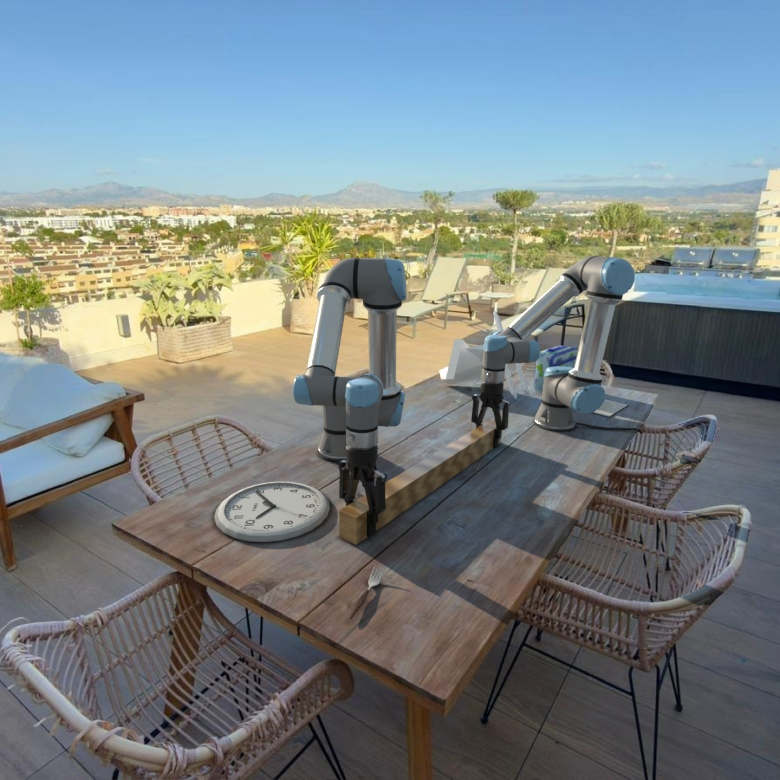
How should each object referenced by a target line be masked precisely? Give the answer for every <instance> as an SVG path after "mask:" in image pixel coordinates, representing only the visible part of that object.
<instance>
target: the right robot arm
mask: <svg viewBox="0 0 780 780" xmlns="http://www.w3.org/2000/svg"><path fill="white" fill-rule="evenodd" d="M635 273H636V272H635V270H634V267H633V266H632V263H630V262H629V261H627V260H626V259H624V258H621V257H617V256H600V255H591V256H587V257H585V258H583V259H580V260H579V261H578V262H576V263H574V264H573V265H571V266H570V267H569V268H567V270H565V271H564V272H563V273H562V274H561V275H560V276H559V277H558V281H557V282H556V283H555V284H554V285H553V286H552V287H551V288H550V289H548V290H547V291H546V292H545V293H544V294H542V296H540V297H539V299H537V300H536V301H535V302H534V303H533V304H532V305H530V306H529V307H528V308H527V309H525V311H524V312H523V313H521V314H520V315H519V316H518V317H517V318H516V319H515V320H514V321H513V322H512V323H510V324H509V325H508V326H507V327H506V328H505V329H503V331H498V330H497V331H495V332H493V333H492V334H490V335H486V337H485V338H484V342H483V344H484V348H483V367H482V381H480V392H479V394H478V393H475V394H474V395H472V396H471V400H472V409H471V417H470V419H471V420H470V421H471V423H473V424H475V428H477V427H479V426H480V425H482V424H484V423H483V421H484V418H485V416H486V412H487V410H488V408H490V409H491V411H492V413H493V417H494V422H495V423H496V429H495V430H494V440H493V449H496V448H497V447H499V445H498V443H499V439H500V438H501V436H503V431H505V430H507V429H508V427H509V411H510V407H511V404H512V403H511V401H510V400H508V401H507V400H505V398H504V396H503V395H504V386H505V383H504V381H505V365H506V364H507V365H509V364H515V363H520V364H530V363H536V361H537V360H538V359H539V357H540V352H542V351H541V345H540V343H539V342H538V341H536V340H530V339H527V338H529V336H530V335H532V334H533V333H534V332H535V331H536V330H537V329H538V328H539V327H541V326H542V325H543V324H545V322H546V321H548V320H549V319H550V318H551V317H552V316H553V315H554V314H555V313H556V312H558V311H559V310H560V309H561V308H562V307H563V306H564V305H566V304H567V303H568V302H569V301H570V300H571V299H573V298H574V297H579V296H580V295H581V294H583V293H584V292H586V294H585V296H586V298H587V300H588V305H587V310H586V315H585V319H584V322H583V327H582V331H581V336H580V340H579V345H578V353H577V358H576V362H575V366H574V368H573V367H562V366H557V367H549V368H547V369H546V370H545V374H544V382H543V392H541V393H542V394H541V402H540V405H539V407H538V410H537V411H536V413H535V417H534V424H535V425H536V426H537V427H539V428H542V429H544V430H549V431H556V432H567V431H572V430H574V429H575V428H576V425H577V426H581V427H587V428H590V429H591V428H592V429H597V430H609V431H635V432H638V433H639V434H641V435H643V434H644V432H643V431H642V430H641V429H639V428H636V427H609V426H600V425H599V426H598V425H592V424H587V423H583V422H577V421H576V418H575V417H576V416H575V413H574V412H577V413H579V414H582V415H590V414H594V413H593V412H595V411H596V410H597V409H599V408H600V407H601V406H602V404H603V403H604V400H605V399H606V397H607V394H606V391H605V388H604V387H603V386H602V382H603V379H604V378H603V376H602V374H601V372H600V371H601V368H602V363H603V358H604V355H605V350H606V346H607V342H608V339H609V338H608V337H609V334H610V331H611V326H612V321H613V318H614V314H615V309H616V306H617V305H618V304H619V303H621V302H623V297H624V295H625V294H627V293H628V292H629V291H630V290H631V289H632V288H633V286H634V283H635V279H636V274H635ZM526 339H527V340H526ZM480 401H481V406H480ZM500 405H501V406H500ZM501 407H502V410H501ZM479 409H480V410H479ZM501 411H502V412H501ZM501 439H502V438H501Z"/></svg>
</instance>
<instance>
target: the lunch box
mask: <svg viewBox="0 0 780 780" xmlns="http://www.w3.org/2000/svg"><path fill="white" fill-rule="evenodd" d="M578 349H579V347H578V348H577V347H572V346H567V345H566V346H565V345H556V346H553V347H549V348H547V349H544V350H542V351H541V352H540V357H539V359H538V360H537V361H536V362H535V369H534V381H533V389H534V391H535V392H539V393H542V392H543V382H544V374H545V370H546V369H547V368H549V367H557V366H562V367H573V368H574V366H575V362H576V358H577V353H578Z"/></svg>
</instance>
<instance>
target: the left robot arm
mask: <svg viewBox="0 0 780 780" xmlns="http://www.w3.org/2000/svg"><path fill="white" fill-rule="evenodd" d="M316 298H317V300H318V307H317V312H316V317H315V322H314V328H313V332H312V338H311V343H310V347H309V353H308V357H307V358H308V359H307V363H306V367H305V373H304V374H303V373H302V374H298V375H296V376H295V378H294V379H293V384H292V397H293V400H294V401H295V403H296V404H298V405H304V406H310V407H314V406H322V425H323V432H322V435H321V438H320V441H319V444H318V455H319V457H321V458H322V459H324V460H326V461H330V462H338V463H337V467H338V471H339V477H338V478H339V481H338V483H339V484H338V485H339V486H338V497H339V499H341V500H343V501H344V503H345V507H346V506H348V505H349V504H351V503H353V502H354V501H355V500H357V497H356V494H357V491H358V488H359V484H360V483H361V486H362V487H363V488H364V492H365V495H366V497H367V502H368V506H369V512H367V536H368V537H367V538H370V537H372V536H373V535H375V534H376V533H377V531H376V524H377V523H378V514H379V513H381V512H382V511H384V510H385V509H386V505H385V483H386V482H387V478H388V474H387V473H386V472H384V473H382V472H381V471H378V466H377V461H378V458H379V457H378V456H379V446H378V443H379V427H386V428H388V427H398V426H399V425H400V424H401V421H402V418H403V417H402V416H403V409H404V403H405V399H406V398H405V397H406V392H405V391H404V390H402V389H401V385H400V384H399V382H397V319H398V318H397V316H398V315H397V314H398V313H397V312H398V310H399V309H400V308H401V307H402V306H403V302H404V301H406V300H407V298H408V288H407V277H406V270H405V265H404V262H403V261H402V260H400V259H394V258H388V257H348V258H345V259H342V260H340V261H338V262H337V263H335V264H334V265H332V267H330V268H329V269H328V271H327V272H326V273H325V274H324V275H323V277H322V279H321V281H320V283H319V286H318V289H317V293H316ZM352 299H355V300H362V307H363V308H364V309H365V310H366V311H367V331H368V332H367V333H368V334H367V335H368V336H367V337H368V338H367V340H368V373H364V374H361V375H360V376H339V375H338V376H336V372H337V365H338V359H339V352H340V348H341V347H340V346H341V342H342V341H341V340H342V335H343V328H344V322H345V315H346V310H347V307H349V305H350V304H351V301H352Z"/></svg>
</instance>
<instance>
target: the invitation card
mask: <svg viewBox="0 0 780 780" xmlns="http://www.w3.org/2000/svg"><path fill="white" fill-rule="evenodd" d="M628 406H629V404H627V403H623V402H618V401H614V400H609V399H606V398H605V400H604V403H603V404H602V406H601V407H600V408H599V409H597V410H596V411H595V412H593V413H592V414H596V415H600V416H604V417H608V418H609V417H611V416H613V415H614V414H616V413H617V412H619V411H621V410H623V409H624V408H626V407H628Z"/></svg>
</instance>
